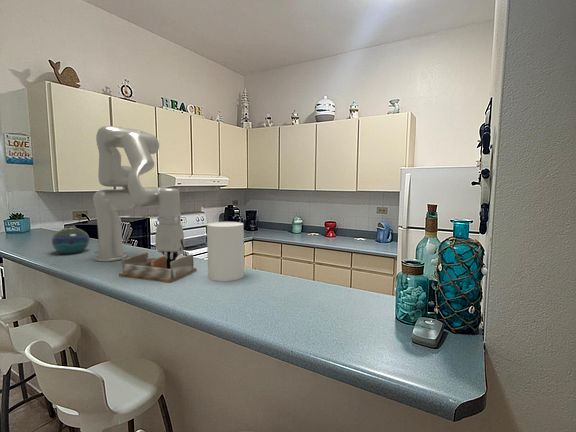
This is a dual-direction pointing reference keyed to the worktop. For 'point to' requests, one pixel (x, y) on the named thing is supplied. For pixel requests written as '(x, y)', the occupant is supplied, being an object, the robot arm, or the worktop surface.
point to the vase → (70, 240)
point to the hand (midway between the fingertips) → (171, 268)
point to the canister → (225, 250)
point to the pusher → (159, 262)
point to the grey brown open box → (156, 268)
